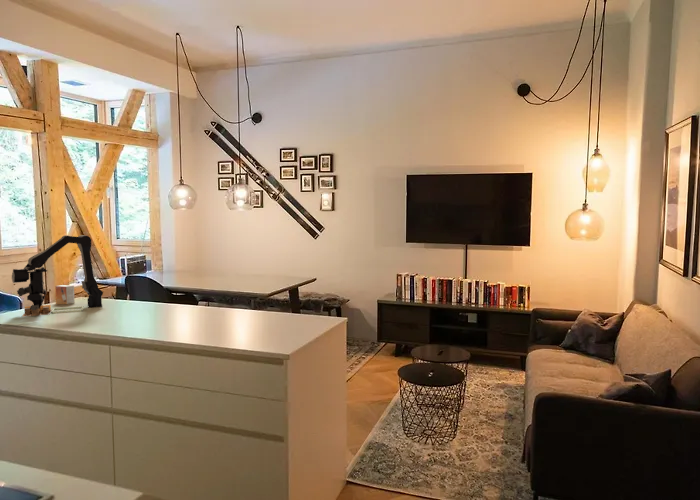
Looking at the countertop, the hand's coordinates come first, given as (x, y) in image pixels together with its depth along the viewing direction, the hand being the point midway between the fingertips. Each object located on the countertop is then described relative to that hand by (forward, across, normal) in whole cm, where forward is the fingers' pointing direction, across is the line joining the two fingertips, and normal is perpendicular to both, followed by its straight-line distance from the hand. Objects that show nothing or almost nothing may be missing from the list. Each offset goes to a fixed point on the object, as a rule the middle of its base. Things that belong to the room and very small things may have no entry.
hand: (38, 310), depth 258 cm
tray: (+1, 0, +14) cm, 14 cm away
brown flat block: (+1, +1, 0) cm, 2 cm away
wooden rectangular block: (+1, 0, 0) cm, 1 cm away
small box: (+2, -25, +10) cm, 27 cm away
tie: (-3, +11, 0) cm, 11 cm away
